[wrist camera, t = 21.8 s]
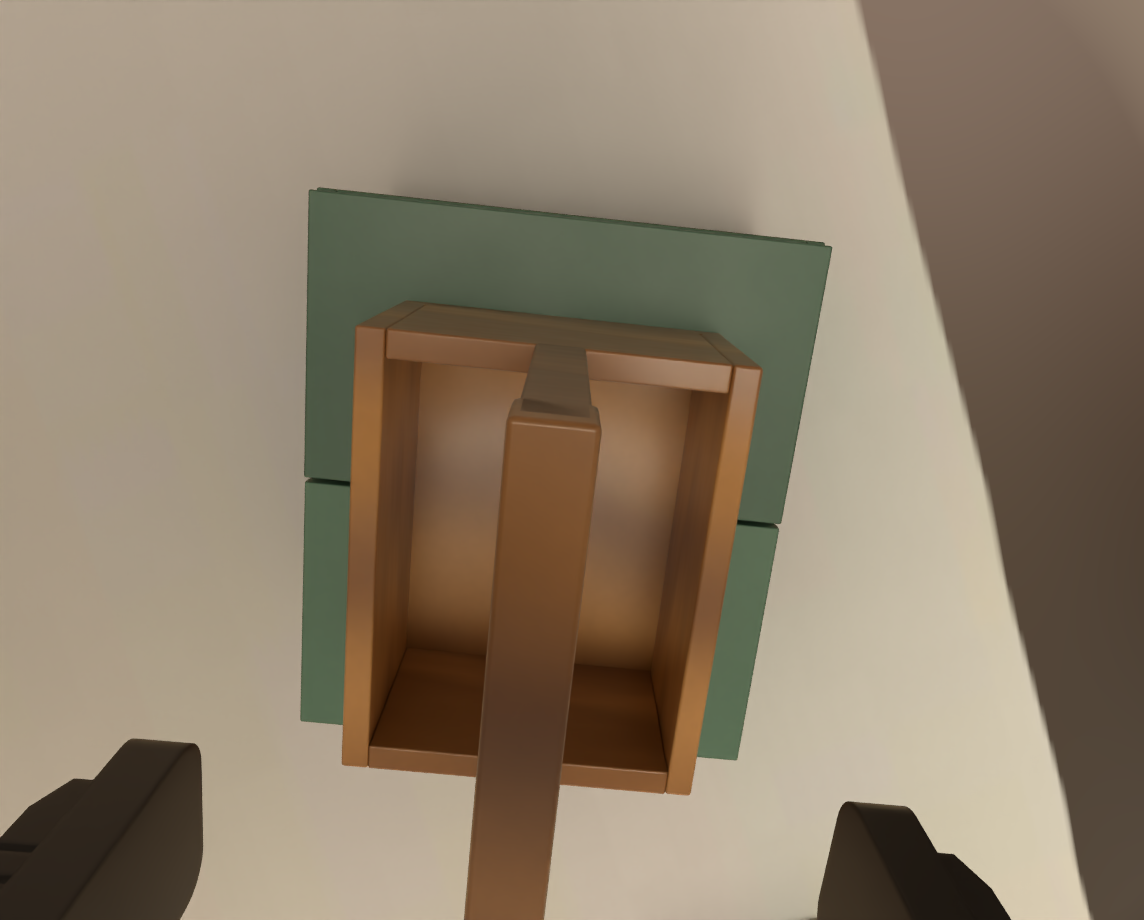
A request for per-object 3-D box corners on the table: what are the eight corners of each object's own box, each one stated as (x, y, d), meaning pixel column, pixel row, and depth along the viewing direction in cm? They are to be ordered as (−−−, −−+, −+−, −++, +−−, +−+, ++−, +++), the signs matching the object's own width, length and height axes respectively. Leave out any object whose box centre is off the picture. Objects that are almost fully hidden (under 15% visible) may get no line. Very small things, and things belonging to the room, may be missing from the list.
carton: (694, 618, 33) (738, 763, 25) (372, 588, 33) (298, 723, 24) (755, 236, 29) (835, 243, 20) (387, 196, 29) (306, 185, 20)
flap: (734, 752, 25) (737, 761, 25) (304, 713, 25) (300, 721, 24) (776, 524, 23) (779, 528, 23) (309, 477, 23) (304, 482, 22)
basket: (666, 680, 24) (743, 1055, 13) (387, 654, 24) (236, 1015, 13) (720, 332, 21) (873, 452, 10) (404, 300, 21) (228, 387, 10)
